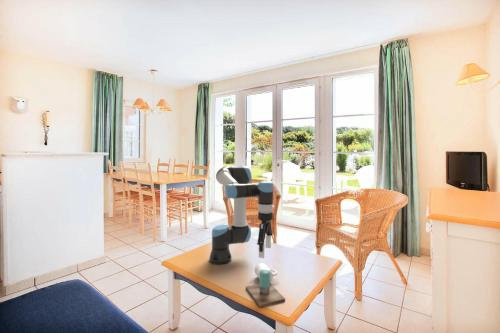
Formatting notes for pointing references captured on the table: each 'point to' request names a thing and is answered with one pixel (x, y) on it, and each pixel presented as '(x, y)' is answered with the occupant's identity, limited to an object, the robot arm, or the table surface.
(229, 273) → the table surface
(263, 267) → the mug
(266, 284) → the cap
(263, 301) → the stud board
